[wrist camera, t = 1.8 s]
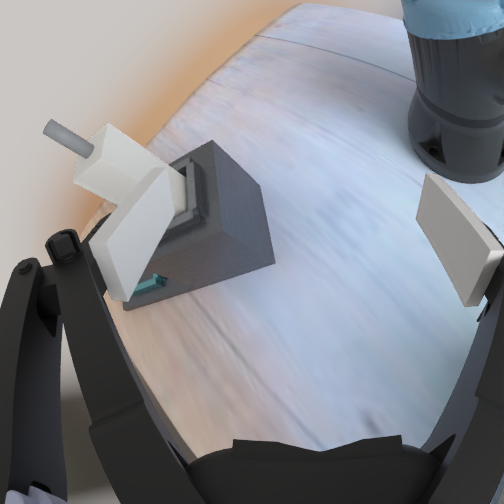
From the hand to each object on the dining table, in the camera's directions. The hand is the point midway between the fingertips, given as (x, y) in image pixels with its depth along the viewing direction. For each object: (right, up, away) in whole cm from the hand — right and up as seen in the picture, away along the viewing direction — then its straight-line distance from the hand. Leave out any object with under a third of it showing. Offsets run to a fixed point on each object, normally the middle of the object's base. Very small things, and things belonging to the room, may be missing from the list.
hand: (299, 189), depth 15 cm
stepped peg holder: (-12, -3, +32) cm, 35 cm away
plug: (-11, +3, +19) cm, 22 cm away
